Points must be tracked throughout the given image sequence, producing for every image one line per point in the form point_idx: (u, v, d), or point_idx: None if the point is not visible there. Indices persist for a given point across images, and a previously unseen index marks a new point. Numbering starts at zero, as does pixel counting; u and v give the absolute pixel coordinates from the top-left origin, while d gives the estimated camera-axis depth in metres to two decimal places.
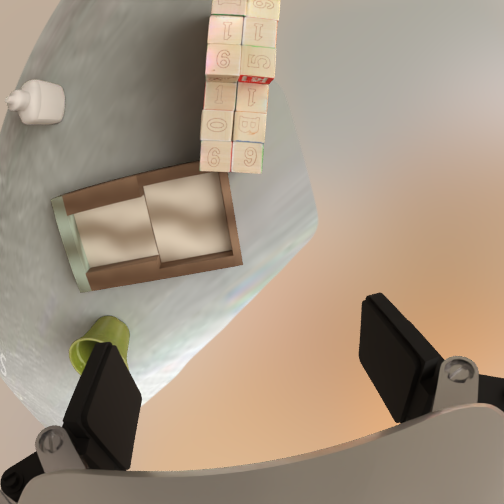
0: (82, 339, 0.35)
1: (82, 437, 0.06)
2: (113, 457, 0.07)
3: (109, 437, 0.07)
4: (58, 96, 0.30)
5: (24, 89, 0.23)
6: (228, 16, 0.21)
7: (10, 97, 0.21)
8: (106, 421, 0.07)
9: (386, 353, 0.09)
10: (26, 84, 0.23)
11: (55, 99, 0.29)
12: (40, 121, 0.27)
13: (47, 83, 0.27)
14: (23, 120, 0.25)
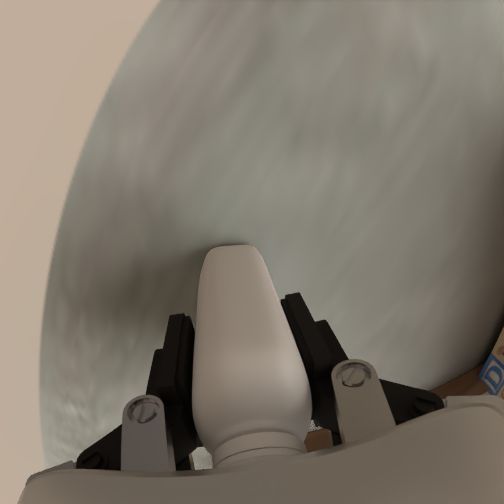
0: None
1: (172, 404, 0.08)
2: None
3: None
4: None
5: (249, 409, 0.06)
6: None
7: None
8: None
9: None
10: (252, 384, 0.06)
11: None
12: None
13: (277, 299, 0.10)
14: None
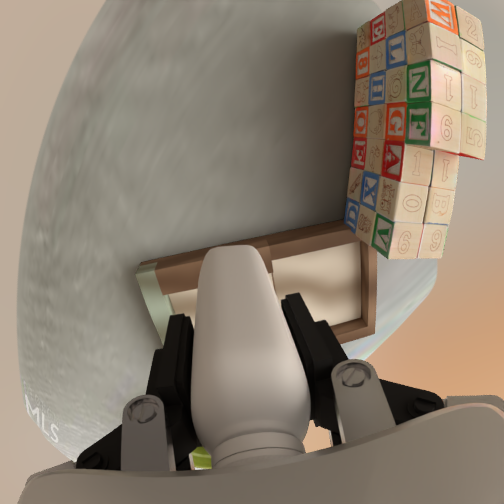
0: None
1: (172, 404, 0.08)
2: None
3: None
4: None
5: (247, 409, 0.06)
6: (447, 67, 0.14)
7: None
8: None
9: None
10: (251, 384, 0.06)
11: None
12: None
13: (276, 299, 0.10)
14: None
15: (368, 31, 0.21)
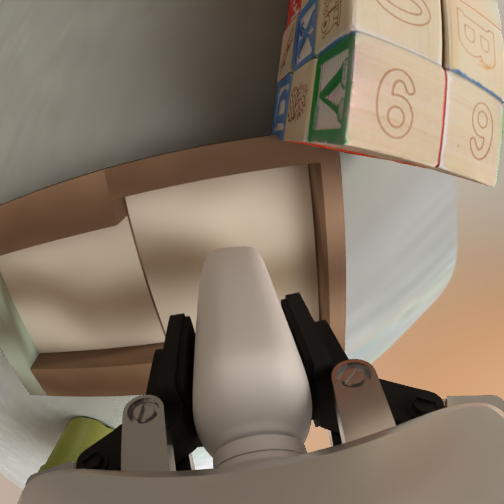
0: None
1: (172, 404, 0.08)
2: None
3: None
4: None
5: (249, 412, 0.06)
6: None
7: None
8: (192, 387, 0.09)
9: None
10: (253, 386, 0.06)
11: None
12: None
13: (277, 301, 0.10)
14: None
15: None
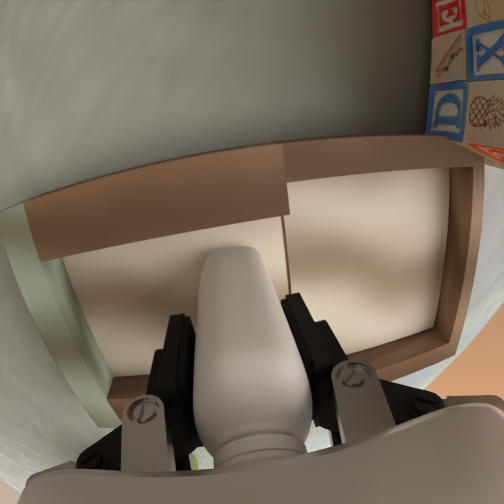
0: None
1: (172, 404, 0.08)
2: None
3: None
4: None
5: (250, 411, 0.06)
6: None
7: None
8: (192, 387, 0.09)
9: None
10: (253, 386, 0.06)
11: None
12: None
13: (278, 301, 0.10)
14: None
15: None
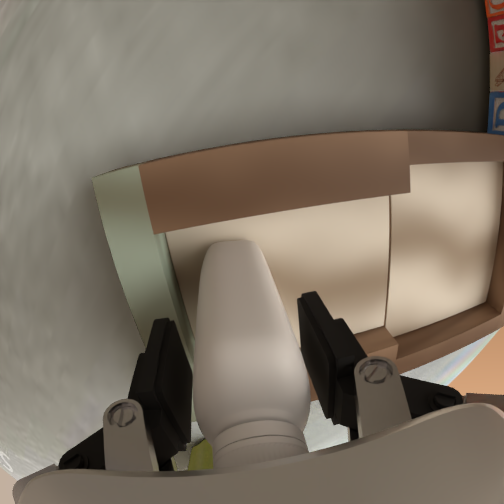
0: None
1: (152, 409, 0.08)
2: (178, 429, 0.08)
3: (176, 408, 0.08)
4: None
5: (248, 398, 0.07)
6: None
7: None
8: (173, 392, 0.09)
9: (313, 349, 0.10)
10: (251, 372, 0.07)
11: None
12: None
13: (276, 292, 0.10)
14: None
15: None
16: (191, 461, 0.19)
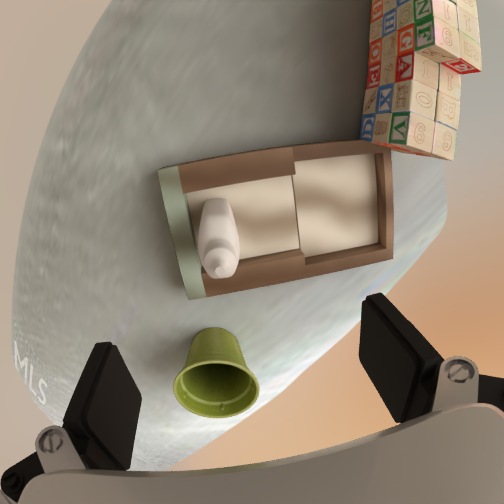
0: (202, 363, 0.29)
1: (82, 437, 0.06)
2: (113, 457, 0.07)
3: (109, 437, 0.07)
4: None
5: (215, 232, 0.24)
6: None
7: (224, 267, 0.21)
8: (106, 421, 0.07)
9: (386, 353, 0.09)
10: (216, 224, 0.24)
11: None
12: None
13: (229, 210, 0.27)
14: None
15: None
16: (191, 345, 0.36)
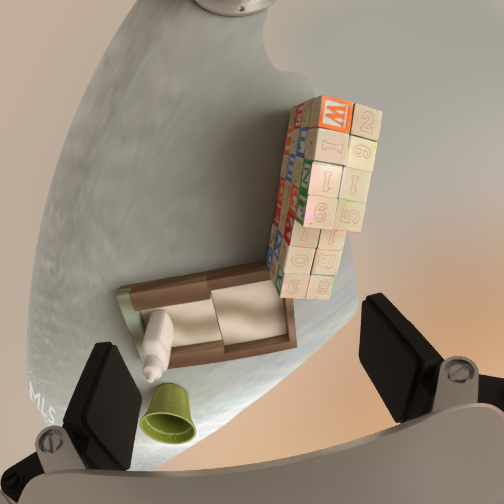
0: (155, 413, 0.41)
1: (82, 437, 0.06)
2: (113, 457, 0.07)
3: (109, 437, 0.07)
4: (170, 328, 0.41)
5: (150, 351, 0.35)
6: (329, 164, 0.26)
7: (152, 379, 0.32)
8: (106, 421, 0.07)
9: (386, 353, 0.09)
10: (150, 346, 0.35)
11: (170, 336, 0.40)
12: None
13: (163, 329, 0.38)
14: None
15: (295, 115, 0.33)
16: (154, 394, 0.47)
